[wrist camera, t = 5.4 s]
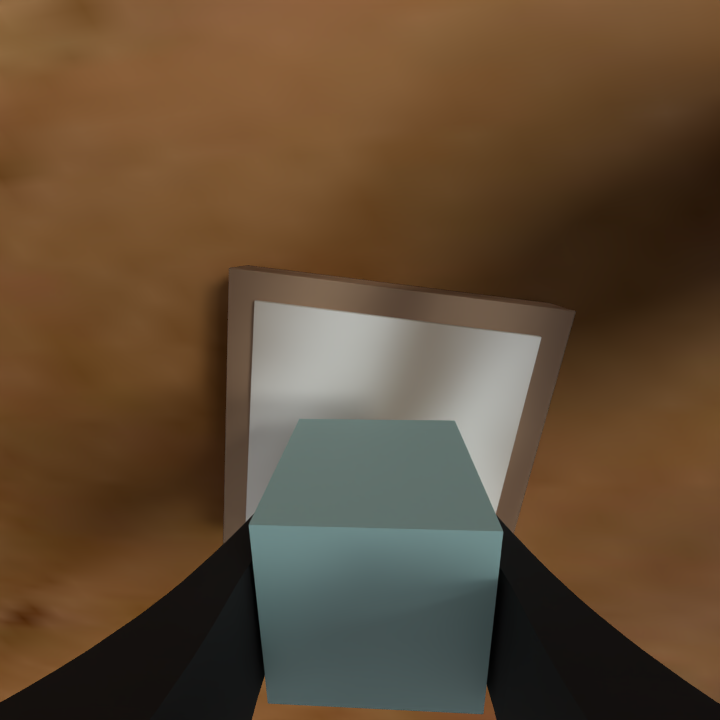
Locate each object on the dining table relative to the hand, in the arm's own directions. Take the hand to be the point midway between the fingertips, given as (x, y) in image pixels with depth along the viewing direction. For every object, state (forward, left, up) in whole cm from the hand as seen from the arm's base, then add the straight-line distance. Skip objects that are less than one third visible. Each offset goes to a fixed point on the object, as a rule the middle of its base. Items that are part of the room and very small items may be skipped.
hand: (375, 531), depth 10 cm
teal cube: (0, 0, -2) cm, 2 cm away
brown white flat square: (0, 0, -7) cm, 7 cm away
